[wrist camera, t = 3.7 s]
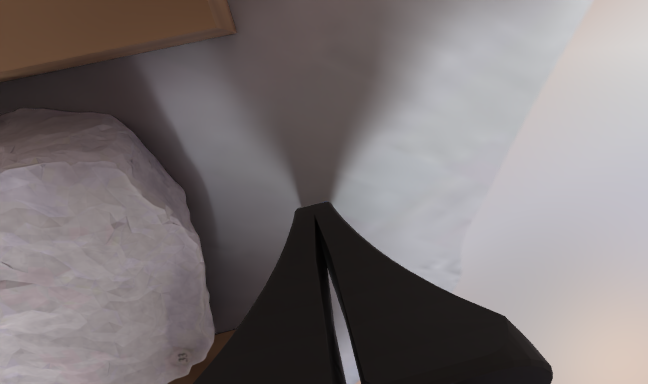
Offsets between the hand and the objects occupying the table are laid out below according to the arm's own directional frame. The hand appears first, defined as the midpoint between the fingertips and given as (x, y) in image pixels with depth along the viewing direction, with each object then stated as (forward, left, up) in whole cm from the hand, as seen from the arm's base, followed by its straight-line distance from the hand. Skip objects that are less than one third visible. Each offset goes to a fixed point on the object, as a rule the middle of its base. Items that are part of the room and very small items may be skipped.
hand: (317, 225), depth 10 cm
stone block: (0, +9, -2) cm, 9 cm away
